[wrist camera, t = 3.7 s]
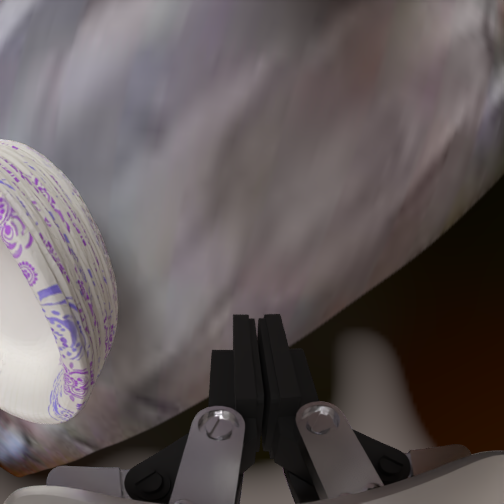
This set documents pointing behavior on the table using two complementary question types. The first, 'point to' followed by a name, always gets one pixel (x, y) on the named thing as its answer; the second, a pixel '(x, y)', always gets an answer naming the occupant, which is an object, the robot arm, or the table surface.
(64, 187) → the paper bowls
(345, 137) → the table surface
